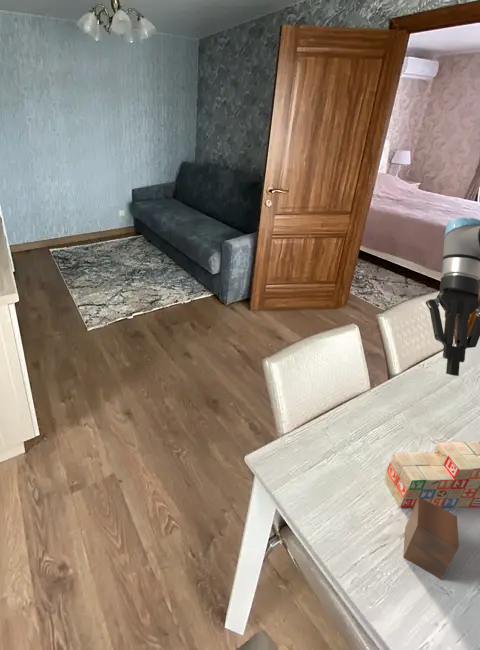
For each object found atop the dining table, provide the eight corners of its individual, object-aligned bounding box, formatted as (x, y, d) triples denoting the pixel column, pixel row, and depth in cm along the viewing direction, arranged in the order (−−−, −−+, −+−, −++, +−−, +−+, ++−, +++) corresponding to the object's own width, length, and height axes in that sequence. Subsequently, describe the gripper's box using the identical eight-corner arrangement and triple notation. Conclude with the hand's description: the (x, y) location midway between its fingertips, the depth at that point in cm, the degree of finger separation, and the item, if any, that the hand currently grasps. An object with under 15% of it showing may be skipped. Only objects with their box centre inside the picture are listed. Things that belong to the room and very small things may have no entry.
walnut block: (440, 547, 67) (456, 515, 64) (441, 580, 63) (459, 547, 59) (405, 528, 71) (418, 496, 67) (403, 557, 66) (417, 525, 62)
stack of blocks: (399, 509, 74) (415, 470, 69) (382, 479, 80) (396, 442, 75) (496, 507, 74) (518, 468, 70) (473, 478, 80) (491, 440, 76)
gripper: (484, 287, 87) (478, 382, 82) (423, 276, 92) (414, 366, 86) (500, 280, 80) (495, 384, 75) (434, 269, 85) (425, 366, 80)
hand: (452, 374), depth 81 cm, fingers closed
